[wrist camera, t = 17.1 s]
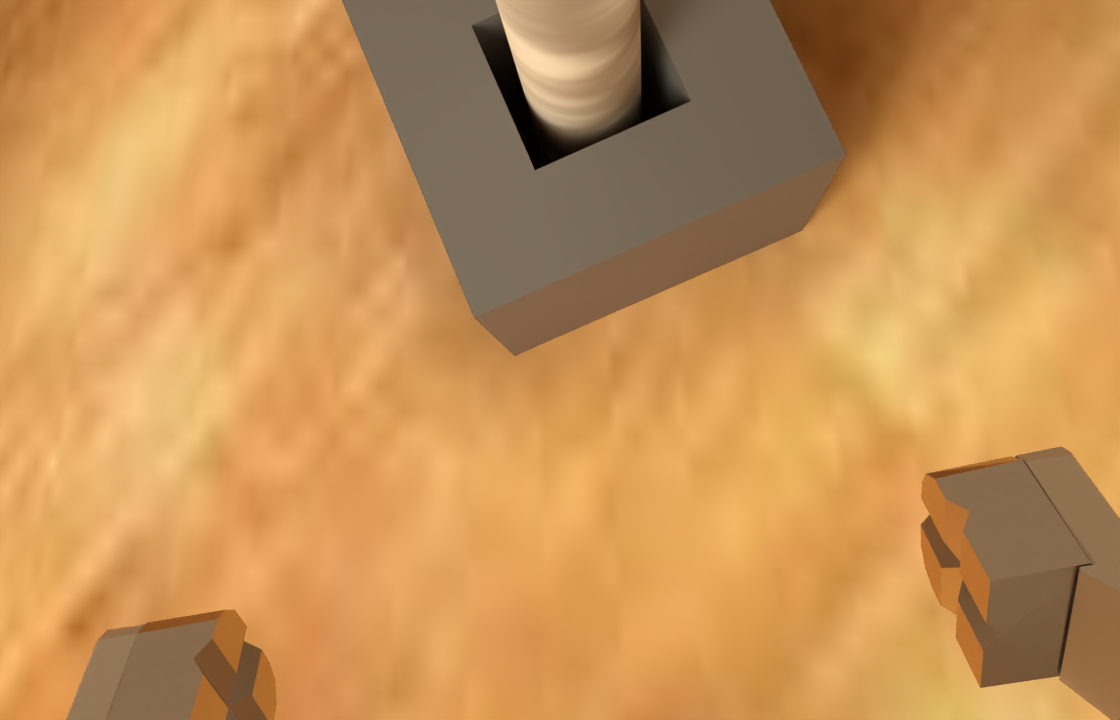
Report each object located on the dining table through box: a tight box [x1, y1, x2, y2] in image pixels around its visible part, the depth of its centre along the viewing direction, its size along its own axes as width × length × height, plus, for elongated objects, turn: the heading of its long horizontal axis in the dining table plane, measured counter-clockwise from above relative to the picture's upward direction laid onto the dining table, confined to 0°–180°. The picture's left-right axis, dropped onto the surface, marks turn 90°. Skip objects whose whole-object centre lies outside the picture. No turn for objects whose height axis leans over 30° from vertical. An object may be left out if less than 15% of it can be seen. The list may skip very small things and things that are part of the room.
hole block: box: [342, 0, 846, 356], centre depth 40 cm, size 14×14×10 cm
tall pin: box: [496, 0, 642, 165], centre depth 36 cm, size 4×4×18 cm
